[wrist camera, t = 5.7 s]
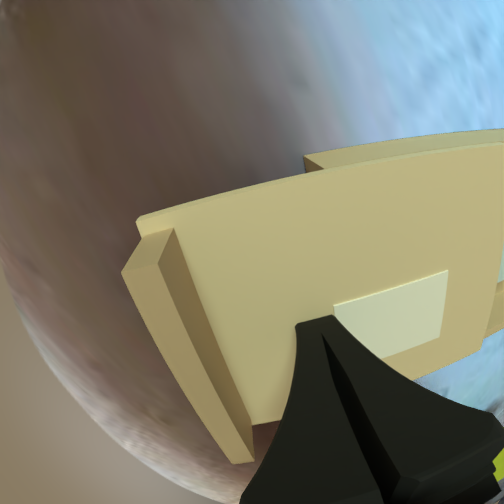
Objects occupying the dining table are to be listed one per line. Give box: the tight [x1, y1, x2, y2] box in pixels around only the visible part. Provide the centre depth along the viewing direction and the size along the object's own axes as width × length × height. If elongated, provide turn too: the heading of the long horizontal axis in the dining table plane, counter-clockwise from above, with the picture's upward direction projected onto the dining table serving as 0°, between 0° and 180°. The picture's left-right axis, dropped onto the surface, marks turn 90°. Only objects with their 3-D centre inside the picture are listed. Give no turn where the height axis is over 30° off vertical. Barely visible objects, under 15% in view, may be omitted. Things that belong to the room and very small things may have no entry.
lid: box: [121, 142, 504, 464], centre depth 10 cm, size 14×11×3 cm
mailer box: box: [303, 129, 504, 338], centre depth 13 cm, size 14×11×3 cm
